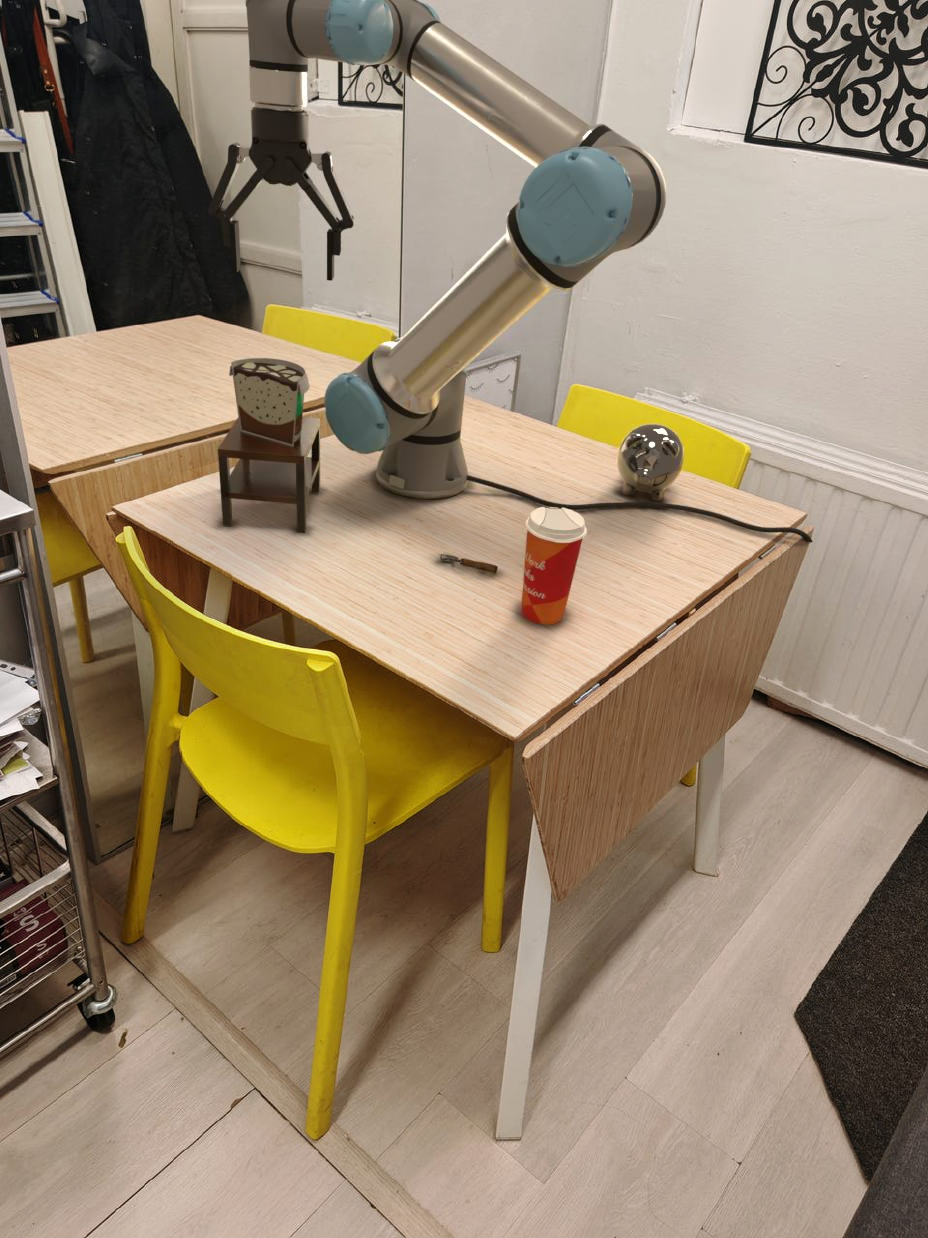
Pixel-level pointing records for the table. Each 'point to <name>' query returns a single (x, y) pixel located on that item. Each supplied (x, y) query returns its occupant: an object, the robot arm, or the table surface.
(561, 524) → the paper cup
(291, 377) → the food container
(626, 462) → the piggy bank
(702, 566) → the table surface
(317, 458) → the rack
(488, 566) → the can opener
